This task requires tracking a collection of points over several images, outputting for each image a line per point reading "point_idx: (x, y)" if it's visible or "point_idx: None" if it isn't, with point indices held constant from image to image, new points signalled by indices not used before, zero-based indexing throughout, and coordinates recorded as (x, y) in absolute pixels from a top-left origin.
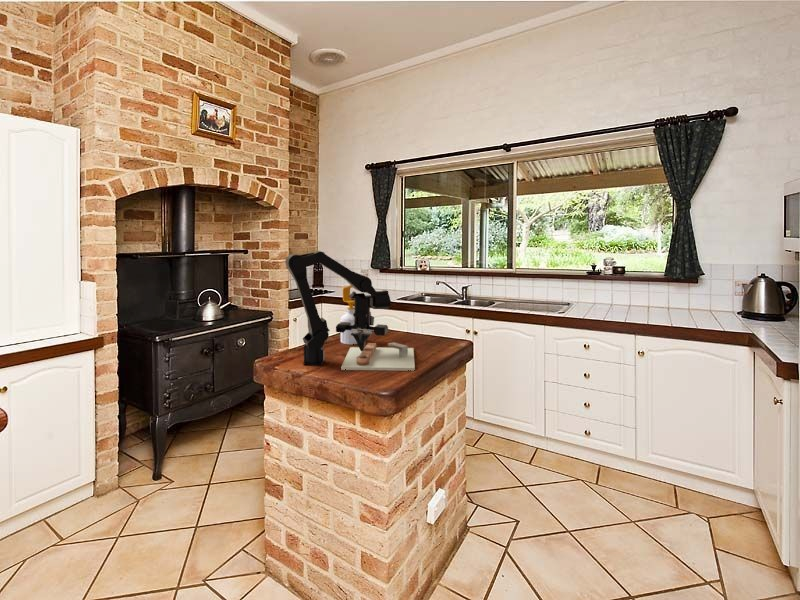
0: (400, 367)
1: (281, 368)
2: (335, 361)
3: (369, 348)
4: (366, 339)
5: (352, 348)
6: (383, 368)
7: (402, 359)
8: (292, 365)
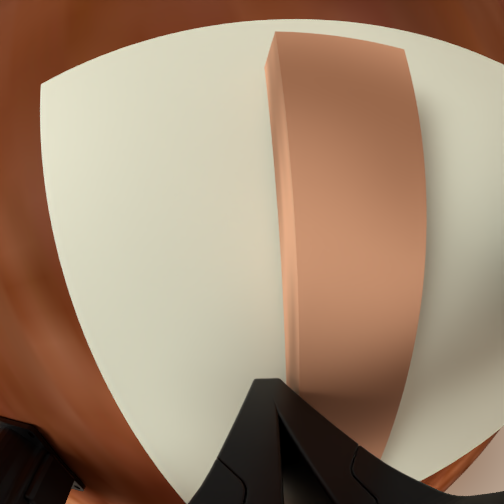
0: (470, 449)
1: None
2: (102, 448)
3: (371, 370)
4: (385, 495)
5: (65, 121)
6: None
7: None
8: None
